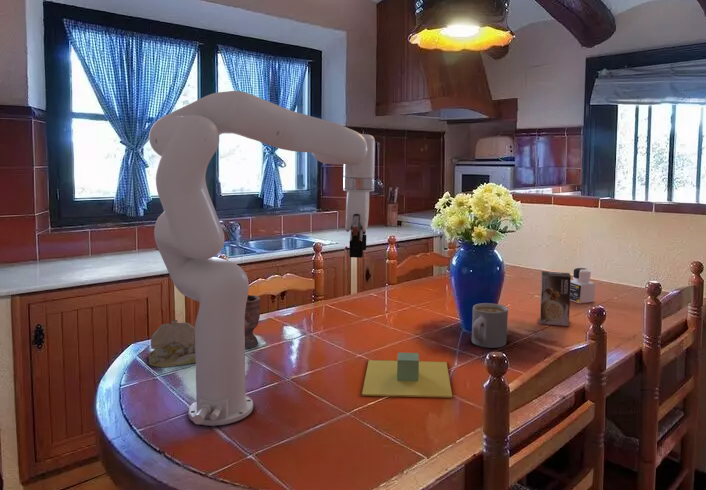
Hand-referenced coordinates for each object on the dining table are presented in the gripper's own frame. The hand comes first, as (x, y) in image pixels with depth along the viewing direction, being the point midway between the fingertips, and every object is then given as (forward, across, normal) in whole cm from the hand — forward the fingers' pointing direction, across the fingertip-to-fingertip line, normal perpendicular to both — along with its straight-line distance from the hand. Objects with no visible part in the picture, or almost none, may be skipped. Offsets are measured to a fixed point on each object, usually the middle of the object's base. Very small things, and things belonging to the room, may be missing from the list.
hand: (358, 253), depth 139 cm
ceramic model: (+28, 0, -46) cm, 54 cm away
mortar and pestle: (+28, -12, -33) cm, 45 cm away
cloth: (+28, +9, +13) cm, 32 cm away
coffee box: (+28, -38, +60) cm, 77 cm away
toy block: (+28, +9, +13) cm, 32 cm away
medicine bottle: (+28, -66, +77) cm, 105 cm away
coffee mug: (+28, -17, +35) cm, 48 cm away
